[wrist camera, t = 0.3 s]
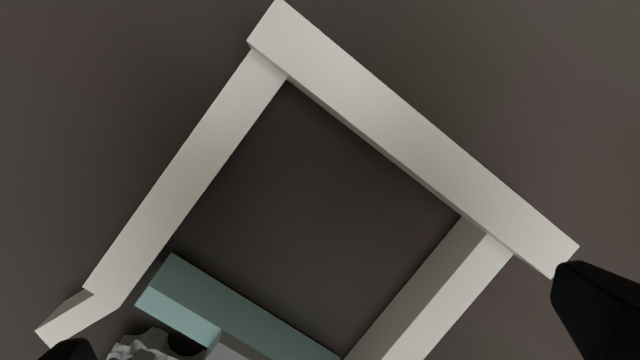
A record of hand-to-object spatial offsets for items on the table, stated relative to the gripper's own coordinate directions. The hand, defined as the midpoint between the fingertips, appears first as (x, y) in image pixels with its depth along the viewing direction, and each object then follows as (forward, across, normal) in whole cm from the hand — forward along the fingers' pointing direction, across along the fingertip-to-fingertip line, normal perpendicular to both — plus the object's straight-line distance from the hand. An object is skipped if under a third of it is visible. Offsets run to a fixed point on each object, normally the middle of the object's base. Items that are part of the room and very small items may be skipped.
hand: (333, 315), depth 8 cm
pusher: (+13, +4, +11) cm, 18 cm away
